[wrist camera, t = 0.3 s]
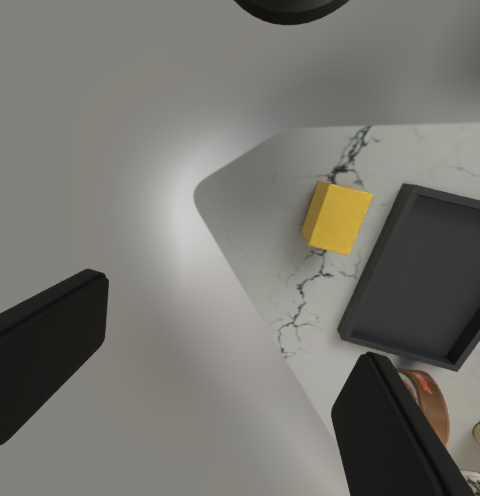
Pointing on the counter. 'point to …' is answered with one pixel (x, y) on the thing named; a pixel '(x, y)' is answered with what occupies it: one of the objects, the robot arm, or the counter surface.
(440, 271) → the tray
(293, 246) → the counter surface
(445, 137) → the counter surface
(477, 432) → the candle
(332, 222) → the sponge
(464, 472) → the decorative candle
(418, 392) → the tin
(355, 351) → the counter surface
